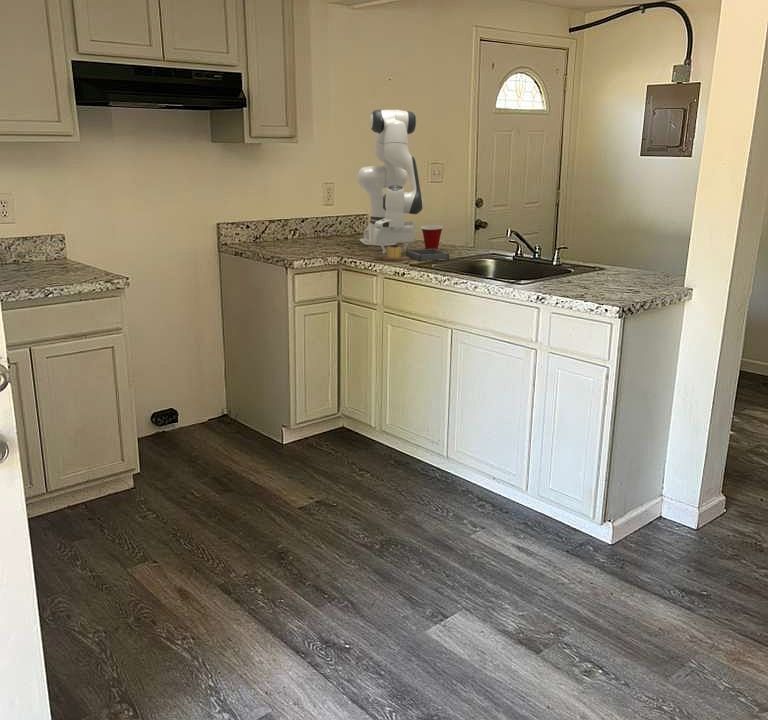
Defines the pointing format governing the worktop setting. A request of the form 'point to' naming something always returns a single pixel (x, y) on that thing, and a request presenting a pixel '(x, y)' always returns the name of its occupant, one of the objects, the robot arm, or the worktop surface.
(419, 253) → the tray
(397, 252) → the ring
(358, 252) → the worktop surface
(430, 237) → the plastic cup
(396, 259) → the wooden peg stand
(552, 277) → the worktop surface
